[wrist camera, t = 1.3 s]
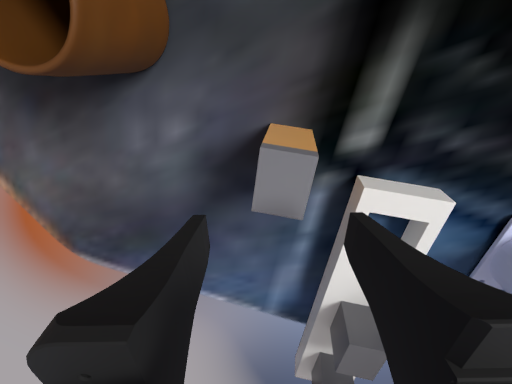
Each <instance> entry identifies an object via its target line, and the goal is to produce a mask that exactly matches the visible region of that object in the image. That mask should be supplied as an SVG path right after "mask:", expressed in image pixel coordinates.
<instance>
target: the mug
mask: <svg viewBox="0 0 512 384" xmlns="http://www.w3.org/2000/svg"><path fill="white" fill-rule="evenodd" d="M168 35H169V16H168V10H167V6H166V2H165V0H0V66H1V67H3V68H6V69H8V70H11V71H13V72H17V73H21V74H26V75H44V76H57V77H66V76H87V75H107V74H120V73H134V72H139V71H142V70H145V69H147V68H148V67H150V66H152V65H153V64H154V63H155V62H156V61H157V60H158V59H159V58H160V57H161V55H162V53H163V51H164V49H165V47H166V44H167V40H168Z"/></svg>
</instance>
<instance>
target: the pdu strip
mask: <svg viewBox="0 0 512 384" xmlns="http://www.w3.org/2000/svg"><path fill="white" fill-rule="evenodd" d="M455 204H456V203H455V202H454V201H453V200H452V199H451V198H450V197H448V196H447V195H446V194H445V193H444V192H443V191H441V190H440V189H437V188H431V187H425V186H419V185H413V184H407V183H401V182H395V181H389V180H383V179H377V178H371V177H365V176H359V175H357V178H356V181H355V184H354V187H353V190H352V193H351V196H350V199H349V201H348V204H347V207H346V210H345V213H344V216H343V219H342V222H341V225H340V228H339V231H338V233H337V236H336V239H335V242H334V245H333V248H332V251H331V254H330V257H329V260H328V263H327V266H326V268H325V271H324V274H323V277H322V280H321V283H320V286H319V289H318V292H317V295H316V298H315V300H314V303H313V306H312V309H311V312H310V315H309V318H308V321H307V324H306V327H305V330H304V333H303V335H302V338H301V341H300V344H299V347H298V350H297V353H296V356H295V377H299V378H303V379H307V380H312V384H354V379H355V377H359V378H363V379H368V380H372V381H373V379H374V378H375V377H376V375H377V373H378V372H379V370H380V369H381V367H382V366H383V364H384V363H385V361H386V360H387V358H386V354H385V351H384V348H383V345H382V342H381V339H380V335H379V332H378V329H377V326H376V323H375V321H374V318H373V315H372V312H371V309H370V307H369V305H368V302H367V300H366V298H365V296H364V294H363V291H362V289H361V287H360V285H359V283H358V281H357V278H356V276H355V274H354V272H353V270H352V268H351V265H350V263H349V260H348V257H347V254H346V251H345V247H344V240H345V235H346V230H347V225H348V220H349V215H350V212H363V213H365V214H366V215H369V213H370V212H371V213H377V214H382V215H388V216H394V217H399V218H405V219H410V221H409V223H408V225H407V227H406V229H405V231H404V233H403V235H402V237H401V240H403V241H404V242H406V243H407V244H409V245H410V246H412V247H414V248H415V249H417V250H418V251H420V252H422V253H423V254H425V255H426V254H427V253H428V251H429V249H430V247H431V246H432V244H433V242H434V241H435V239H436V237H437V235H438V234H439V232H440V230H441V228H442V227H443V225H444V223H445V221H446V220H447V218H448V216H449V215H450V213H451V211H452V209H453V208H454V206H455Z"/></svg>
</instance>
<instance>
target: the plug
mask: <svg viewBox="0 0 512 384" xmlns="http://www.w3.org/2000/svg"><path fill="white" fill-rule="evenodd" d="M318 158H319V156H318V152H317V148H316V144H315V140H314V136H313V132H312V130H310V129H303V128H297V127H291V126H285V125H278V124H272V123H271V124H270V126H269V128H268V131H267V133H266V135H265V137H264V140H263V142H262V144H261V147H260V152H259V159H258V167H257V174H256V181H255V189H254V196H253V203H252V210H251V211H255V212H261V213H266V214H272V215H277V216H282V217H288V218H293V219H299V220H303V217H304V213H305V209H306V205H307V201H308V197H309V193H310V189H311V186H312V182H313V178H314V174H315V170H316V166H317V162H318Z"/></svg>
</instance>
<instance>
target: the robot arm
mask: <svg viewBox="0 0 512 384" xmlns="http://www.w3.org/2000/svg"><path fill="white" fill-rule="evenodd" d="M344 247H345V251H346V254H347V257H348V260H349V263H350V265H351V268H352V270H353V272H354V274H355V276H356V278H357V281H358V283H359V285H360V287H361V289H362V291H363V294H364V296H365V298H366V300H367V302H368V305H369V307H370V309H371V312H372V315H373V318H374V321H375V323H376V326H377V329H378V332H379V335H380V339H381V342H382V345H383V348H384V351H385V354H386V358H387V361H388V365H389V368H390V372H391V375H392V378H393V382H394V384H512V218H511V219H510V221H509V222H508V223H507V225H506V226H505V228H504V229H503V230H502V232H501V233H500V235H499V236H498V237H497V239H496V240H495V241H494V243H493V244H492V246H491V247H490V248H489V250H488V251H487V253H486V254H485V255H484V257H483V258H482V260H481V261H480V262H479V264H478V265H477V266H476V268H475V269H474V271H473V272H472V273H471V275H470V276H469V277H468V276H466V275H464V274H462V273H460V272H458V271H456V270H453V269H451V268H449V267H447V266H445V265H443V264H441V263H440V262H438V261H436V260H434V259H432V258H431V257H429V256H427V255H425V254H423V253H422V252H420V251H418V250H417V249H415V248H414V247H412V246H410V245H409V244H407V243H406V242H404V241H403V240H401V239H400V238H398V237H397V236H395V235H394V234H393V233H391V232H390V231H388V230H387V229H386V228H384V227H383V226H381V225H380V224H379V223H377V222H376V221H375V220H373V219H372V218H370V217H369V216H368V215H366V214H365V213H363V212H350V215H349V220H348V225H347V230H346V235H345V240H344ZM209 250H210V242H209V235H208V228H207V221H206V215H193V216H192V217H191V218H190V219H189V220H188V221H187V222H186V223H185V225H184V226H183V227H182V228H181V229H180V230H179V231H178V232H177V233H176V234H175V235H174V236H173V237H172V238H171V239H170V240H169V241H168V242H167V243H166V244H165V245H164V246H163V247H162V248H161V249H160V250H159V251H158V252H157V253H156V254H154V255H153V256H152V257H151V258H150V259H148V260H147V261H146V262H145V263H143V264H142V265H141V266H139V267H138V268H137V269H135V270H134V271H132V272H131V273H129V274H128V275H126V276H125V277H123V278H122V279H121V280H119V281H118V282H116V283H114V284H113V285H111V286H109V287H108V288H106V289H104V290H103V291H101V292H99V293H97V294H95V295H94V296H92V297H90V298H88V299H86V300H84V301H82V302H80V303H78V304H76V305H74V306H72V307H70V308H68V309H66V310H64V311H62V312H60V313H58V314H57V315H56V316H55V317H54V319H53V320H52V321H51V323H50V324H49V325H48V326H47V328H46V329H45V330H44V332H43V333H42V334H41V336H40V337H39V338H38V340H37V341H36V342H35V344H34V345H33V347H32V348H31V349H30V351H29V353H28V354H27V356H26V357H27V364H28V366H29V368H30V369H31V371H32V372H33V373H34V374H35V375H36V376H37V377H38V379H39V380H40V381H41V382H42V383H43V384H184V378H185V371H186V363H187V357H188V350H189V344H190V337H191V331H192V325H193V319H194V313H195V309H196V305H197V301H198V297H199V294H200V290H201V287H202V283H203V279H204V276H205V272H206V268H207V264H208V258H209ZM500 289H502V290H505V291H506V292H505V291H502V290H500Z"/></svg>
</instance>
